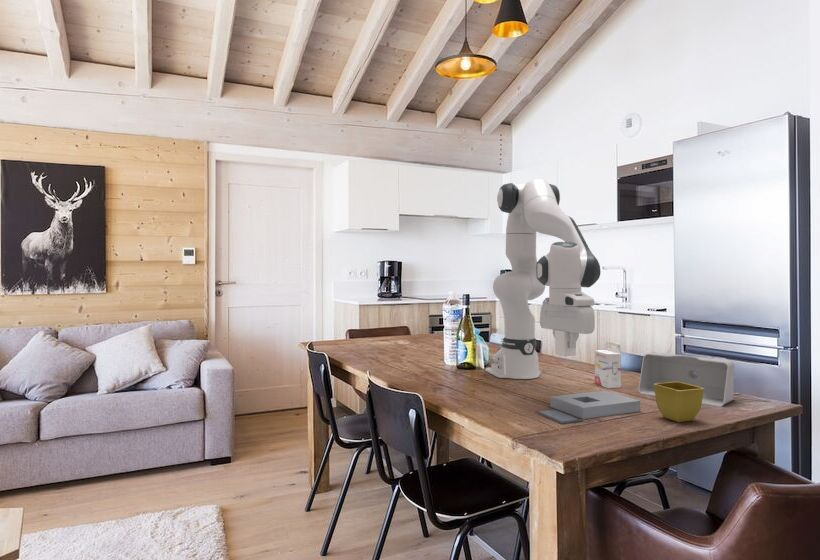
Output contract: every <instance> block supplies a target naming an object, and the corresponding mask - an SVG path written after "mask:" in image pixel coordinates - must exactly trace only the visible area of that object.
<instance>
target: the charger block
mask: <svg viewBox="0 0 820 560" xmlns="http://www.w3.org/2000/svg"><path fill="white" fill-rule="evenodd" d="M570 338H571V336H570V332H566V331H559V330H555V338H554V355H556V356H561V357H571V356H572V357H573V356H577V354H576V352H577V351H576V350H577V349H576V348H577V347H576V348H568V342H569V341H570Z"/></svg>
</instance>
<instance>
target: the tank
mask: <svg viewBox="0 0 820 560" xmlns="http://www.w3.org/2000/svg"><path fill="white" fill-rule="evenodd" d="M641 363H642V364H641V369H640V376H639V383H638V387H637V388H638V389H637V391H638V393H640V394H641V395H648V396H654V397H655V389H654V384H656V383H667V382H682V383H686V384H690V385H694V386H698V387H701V388H704V393H703V399H702V404H701V405H709V406H715V407H719V408H720V407H723V406H724V405H727V404H728V403H730V402H732V401H733V400H734V396H735V395H734V393H735V391H734V387H735V386H734V385H735V384H734V381H735V372H734V371H735V364H734V362H733V361H731V360H728V359H720V358H711V357H700V356H692V355H683V354H676V353H675V354H673V353H665V352H664V353H663V352H656V351H655V352H649V353H645V354H644V356H643V357H642V362H641ZM695 373H696V374H695Z"/></svg>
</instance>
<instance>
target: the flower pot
mask: <svg viewBox="0 0 820 560" xmlns="http://www.w3.org/2000/svg"><path fill="white" fill-rule="evenodd" d="M654 389H655V396H654V397H655V402H656V406H657V408H658V410H659V412H660V413H661V415H662V416H663V418H665V419H667V420H671V421H674V422H676V423H683V422H689V421H693V420H694V419H695V418H696V416H697V415H698V414H699V412H700V411H701V410H700V409H701V406H702V405H703V404H702V399H703V393H704V388H701V387H698V386H694V385H690V384H686V383H682V382H667V383H656V384H654Z"/></svg>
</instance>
